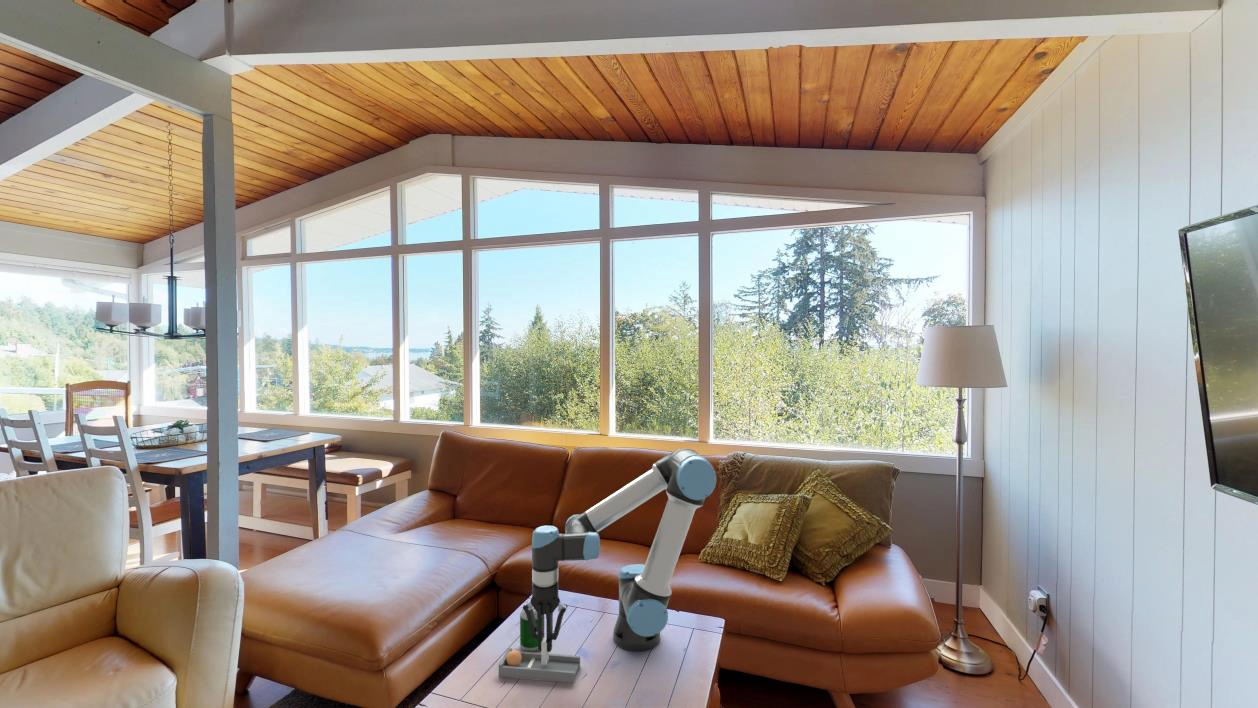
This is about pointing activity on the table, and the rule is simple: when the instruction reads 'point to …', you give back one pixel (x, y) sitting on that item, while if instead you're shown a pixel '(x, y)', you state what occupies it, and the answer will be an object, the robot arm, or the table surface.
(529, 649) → the soda can
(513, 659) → the ball
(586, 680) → the table surface
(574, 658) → the lane
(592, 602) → the table surface
